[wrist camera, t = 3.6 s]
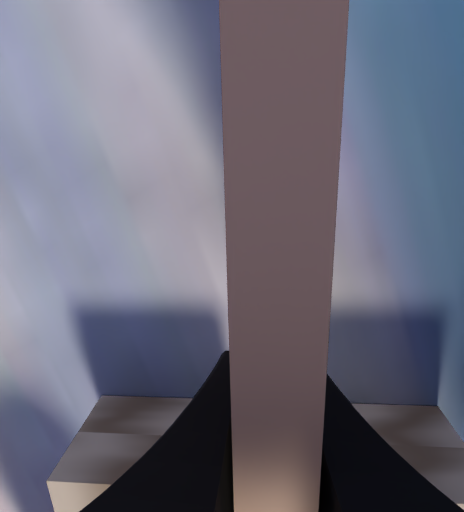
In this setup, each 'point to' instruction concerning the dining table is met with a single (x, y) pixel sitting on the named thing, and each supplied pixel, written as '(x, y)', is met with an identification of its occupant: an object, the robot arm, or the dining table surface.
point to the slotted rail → (168, 409)
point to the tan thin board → (280, 237)
